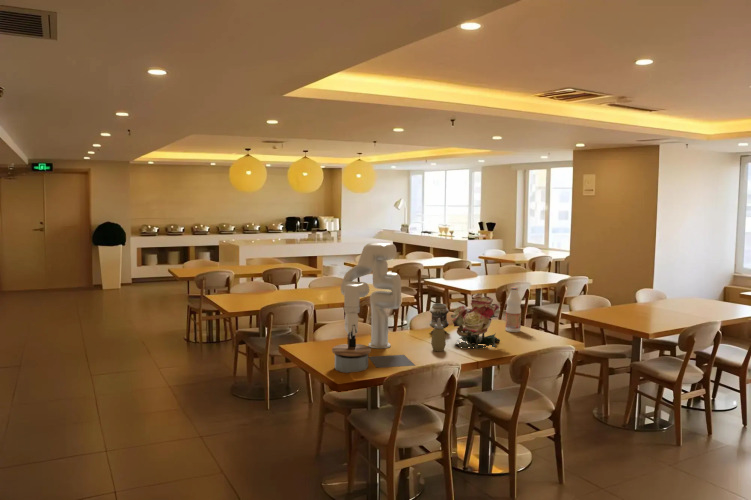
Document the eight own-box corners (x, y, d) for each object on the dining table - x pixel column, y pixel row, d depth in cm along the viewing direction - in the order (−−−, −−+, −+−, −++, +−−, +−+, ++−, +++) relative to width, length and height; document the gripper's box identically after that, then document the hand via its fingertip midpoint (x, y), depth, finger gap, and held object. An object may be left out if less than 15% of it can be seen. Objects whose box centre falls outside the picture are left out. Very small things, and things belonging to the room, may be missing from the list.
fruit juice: (509, 332, 362) (510, 289, 359) (502, 329, 371) (504, 286, 369) (523, 332, 364) (524, 288, 362) (516, 328, 373) (517, 286, 371)
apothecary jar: (438, 329, 368) (438, 302, 367) (452, 332, 359) (453, 304, 358) (425, 332, 360) (425, 304, 358) (439, 335, 351) (440, 307, 350)
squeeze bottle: (432, 347, 322) (433, 316, 321) (446, 349, 320) (447, 317, 319) (429, 351, 315) (430, 319, 313) (444, 352, 312) (445, 320, 311)
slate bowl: (332, 364, 288) (332, 350, 287) (363, 362, 292) (363, 349, 291) (338, 373, 273) (338, 359, 272) (370, 371, 276) (370, 357, 276)
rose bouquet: (451, 337, 347) (452, 289, 344) (500, 340, 341) (501, 291, 338) (448, 348, 321) (449, 296, 319) (501, 351, 316) (503, 298, 313)
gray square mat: (367, 357, 301) (367, 356, 301) (404, 355, 305) (404, 354, 305) (376, 368, 281) (376, 367, 281) (415, 366, 286) (415, 365, 286)
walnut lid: (329, 347, 288) (329, 333, 288) (366, 345, 293) (366, 331, 292) (335, 357, 270) (335, 342, 269) (374, 355, 275) (375, 340, 274)
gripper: (341, 306, 287) (341, 342, 288) (347, 312, 271) (347, 350, 272) (355, 305, 289) (355, 341, 290) (363, 312, 273) (362, 349, 274)
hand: (351, 345), depth 281 cm, fingers closed on walnut lid, 3 cm apart
